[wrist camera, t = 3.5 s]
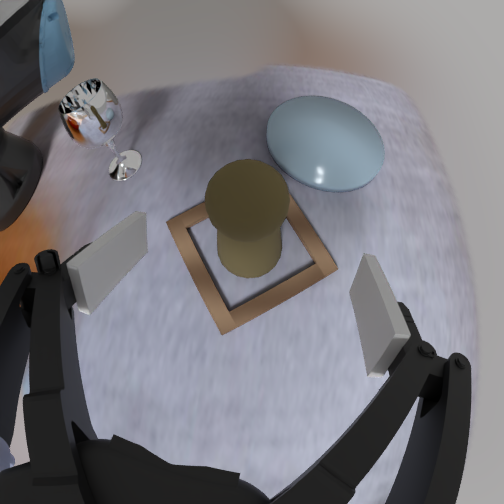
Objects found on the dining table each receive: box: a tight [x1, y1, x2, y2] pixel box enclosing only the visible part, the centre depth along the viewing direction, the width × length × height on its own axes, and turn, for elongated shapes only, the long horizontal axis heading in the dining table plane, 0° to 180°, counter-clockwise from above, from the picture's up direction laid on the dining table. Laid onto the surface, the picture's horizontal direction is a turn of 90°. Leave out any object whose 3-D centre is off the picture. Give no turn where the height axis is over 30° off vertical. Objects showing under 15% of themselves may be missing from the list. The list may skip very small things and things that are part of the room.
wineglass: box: [59, 79, 142, 181], centre depth 23 cm, size 6×6×12 cm
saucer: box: [266, 96, 385, 192], centre depth 29 cm, size 14×14×1 cm
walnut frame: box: [166, 194, 338, 335], centre depth 25 cm, size 12×12×1 cm
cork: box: [205, 159, 290, 278], centre depth 20 cm, size 6×6×11 cm
